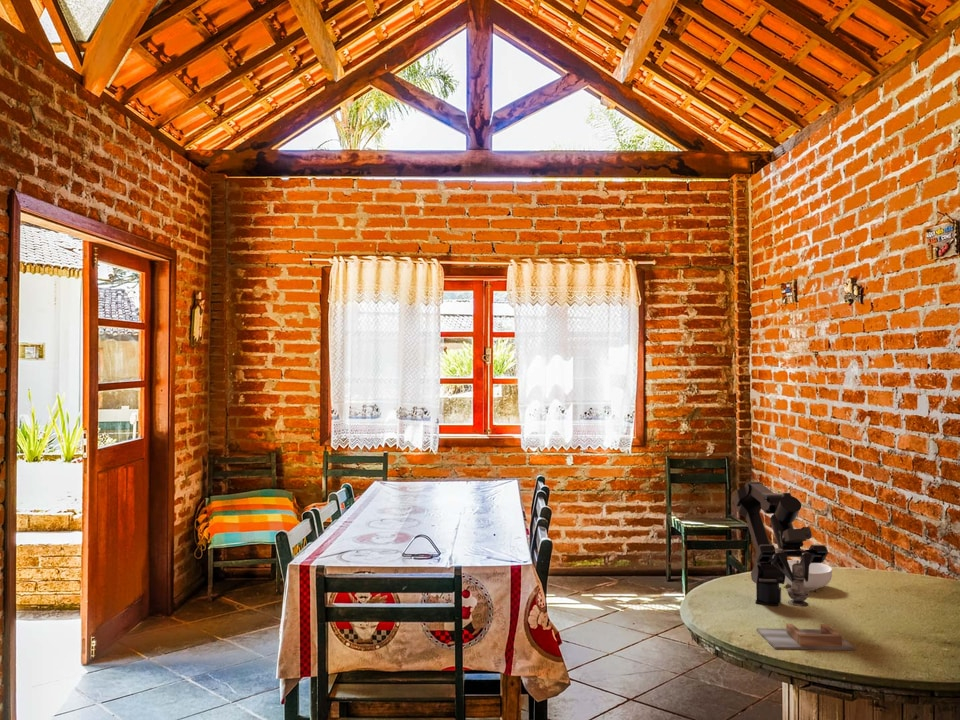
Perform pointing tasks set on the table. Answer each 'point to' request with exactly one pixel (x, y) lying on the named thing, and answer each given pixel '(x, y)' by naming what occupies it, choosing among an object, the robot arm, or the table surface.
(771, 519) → the robot arm
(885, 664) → the table surface
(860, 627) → the table surface
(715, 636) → the table surface
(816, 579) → the cereal bowl
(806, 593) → the salt shaker
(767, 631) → the wooden u-frame tray
